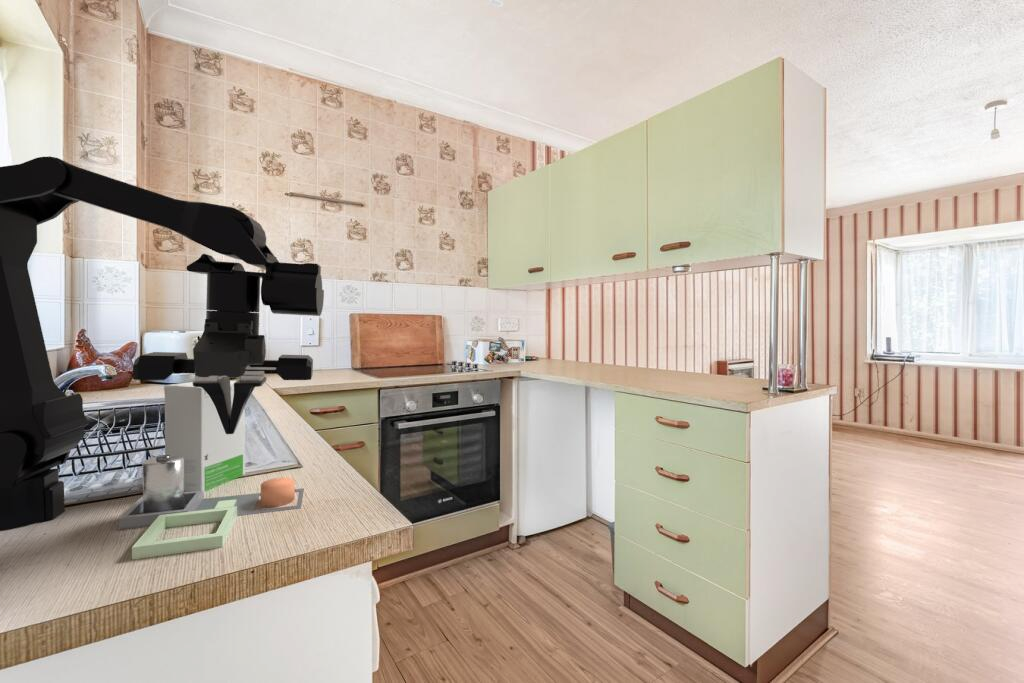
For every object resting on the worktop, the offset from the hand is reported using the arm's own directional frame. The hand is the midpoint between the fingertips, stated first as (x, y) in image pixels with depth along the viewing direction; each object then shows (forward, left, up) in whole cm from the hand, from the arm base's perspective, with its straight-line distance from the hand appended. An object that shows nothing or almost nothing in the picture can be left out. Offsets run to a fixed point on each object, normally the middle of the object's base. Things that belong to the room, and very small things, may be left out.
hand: (230, 433), depth 58 cm
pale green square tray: (-3, -8, -10) cm, 13 cm away
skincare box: (-5, +11, -11) cm, 16 cm away
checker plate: (-2, 0, -10) cm, 11 cm away
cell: (-7, 0, -9) cm, 12 cm away
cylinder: (+5, 0, -10) cm, 11 cm away
